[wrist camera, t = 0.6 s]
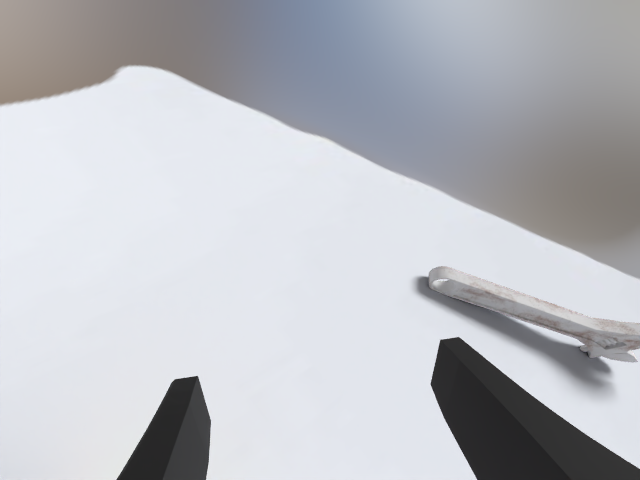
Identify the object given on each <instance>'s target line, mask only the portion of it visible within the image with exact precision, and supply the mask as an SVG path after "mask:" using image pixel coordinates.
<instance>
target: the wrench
mask: <svg viewBox="0 0 640 480" xmlns="http://www.w3.org/2000/svg"><path fill="white" fill-rule="evenodd" d="M438 279H449V280H448V281H437V280H438ZM429 287H430V288H431V289H432V290H435V291H437V292H439V293H442V294H444V295H447V296H450V297H452V298H456V299H459V300H462V301H465V302H468V303H471V304H474V305H477V306H480V307H483V308H486V309H489V310H492V311H495V312H498V313H501V314H504V315H507V316H510V317H513V318H516V319H519V320H522V321H525V322H528V323H531V324H534V325H537V326H540V327H544V328H547V329H550V330H553V331H556V332H558V333H561V334H564V335H567V336H570V337H573V338H575V339H578V340H579V341H580V342H582V343H583V344H585V345H583V346H580V349H581V350H582V351H583V352H587V353H588V356H589V358H596V357H601V356H602V357H605V358H609V359H612V360H618V361H625V362H638V361H637V359H636V357H635V355H634V353H633V351H632V350H635V349H640V323H630V322H620V321H613V320H606V319H599V318H592V317H588V316H586V315H583V314H580V313H577V312H574V311H571V310H569V309H566V308H563V307H560V306H557V305H554V304H552V303H549V302H546V301H543V300H540V299H537V298H535V297H532V296H529V295H526V294H523V293H520V292H518V291H515V290H512V289H509V288H506V287H503V286H501V285H498V284H495V283H492V282H489V281H486V280H483V279H481V278H478V277H475V276H472V275H469V274H466V273H464V272H461V271H458V270H455V269H452V268H449V267H443V266H441V267H436V268H434V269H432V270H431V271H430V272H429Z"/></svg>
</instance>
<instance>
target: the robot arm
mask: <svg viewBox="0 0 640 480" xmlns="http://www.w3.org/2000/svg"><path fill="white" fill-rule="evenodd" d="M431 386H432V389H433V391H434V394H435V397H436V399H437V402H438V404H439V407H440V409H441V411H442V414H443V416H444V418H445V420H446V422H447V424H448V426H449V428H450V430H451V432H452V434H453V435H454V437H455V439H456V441H457V443H458V445H459V447H460V448H461V450H462V452H463V454H464V456H465V458H466V460H467V461H468V463H469V465H470V467H471V469H472V471H473V472H474V474H475V476H476V478H477V480H640V469H639V468H637V467H636V466H634V465H632V464H631V463H629V462H627V461H626V460H624V459H623V458H621V457H620V456H618V455H617V454H615V453H613V452H612V451H610V450H609V449H607V448H606V447H604V446H603V445H601V444H599V443H598V442H596V441H595V440H593V439H592V438H590V437H589V436H587V435H586V434H584V433H583V432H581V431H580V430H578V429H577V428H576V427H574V426H573V425H571V424H570V423H569V422H567V421H566V420H564V419H563V418H562V417H560V416H559V415H557V414H556V413H555V412H553V411H552V410H550V409H549V408H548V407H546V406H545V405H544V404H542V403H541V402H540V401H538V400H537V399H536V398H534V397H533V396H532V395H530V394H529V393H528V392H526V391H525V390H524V389H523V388H521V387H520V386H519V385H518V384H516V383H515V382H514V381H512V380H511V379H510V378H509V377H507V376H506V375H505V374H504V373H502V372H501V371H500V370H499V369H497V368H496V367H495V366H494V365H493V364H491V363H490V362H489V361H488V360H486V359H485V358H484V357H483V356H482V355H480V354H479V353H478V352H477V351H475V350H474V349H473V348H472V347H471V346H469V345H468V344H467V343H466V342H464V341H463V340H462V339H461V338H459V337H457V338H450V339H443V340H440V344H439V349H438V353H437V358H436V362H435V367H434V371H433V376H432V380H431ZM210 427H211V420H210V416H209V413H208V410H207V406H206V403H205V399H204V396H203V392H202V389H201V385H200V382H199V378H198V376H194V377H188V378H181V379H175V380H174V381H173V382H172V383H171V385H170V387H169V389H168V391H167V393H166V395H165V397H164V399H163V401H162V402H161V404H160V406H159V408H158V410H157V412H156V414H155V415H154V417H153V419H152V421H151V423H150V424H149V426H148V428H147V430H146V431H145V433H144V435H143V437H142V438H141V440H140V442H139V443H138V445H137V447H136V448H135V450H134V452H133V454H132V455H131V457H130V459H129V460H128V462H127V464H126V465H125V467H124V469H123V470H122V472H121V473H120V475H119V477H118V478H117V480H206V475H207V468H208V462H209V447H210Z"/></svg>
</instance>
